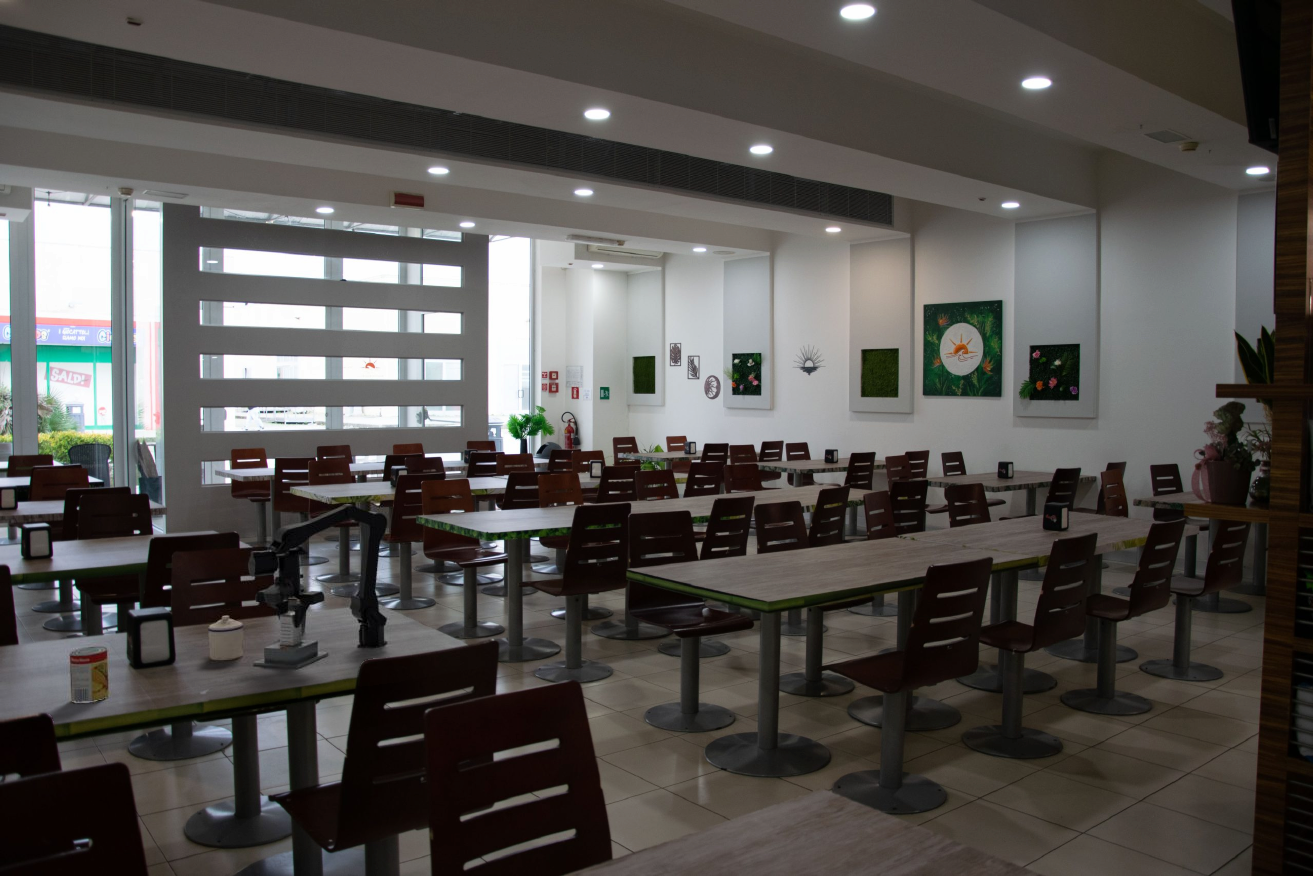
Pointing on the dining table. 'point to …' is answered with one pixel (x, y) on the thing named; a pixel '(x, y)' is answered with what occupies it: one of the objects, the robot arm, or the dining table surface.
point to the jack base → (291, 655)
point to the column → (289, 630)
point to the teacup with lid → (226, 639)
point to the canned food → (89, 674)
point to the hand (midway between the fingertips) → (290, 627)
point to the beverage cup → (290, 608)
